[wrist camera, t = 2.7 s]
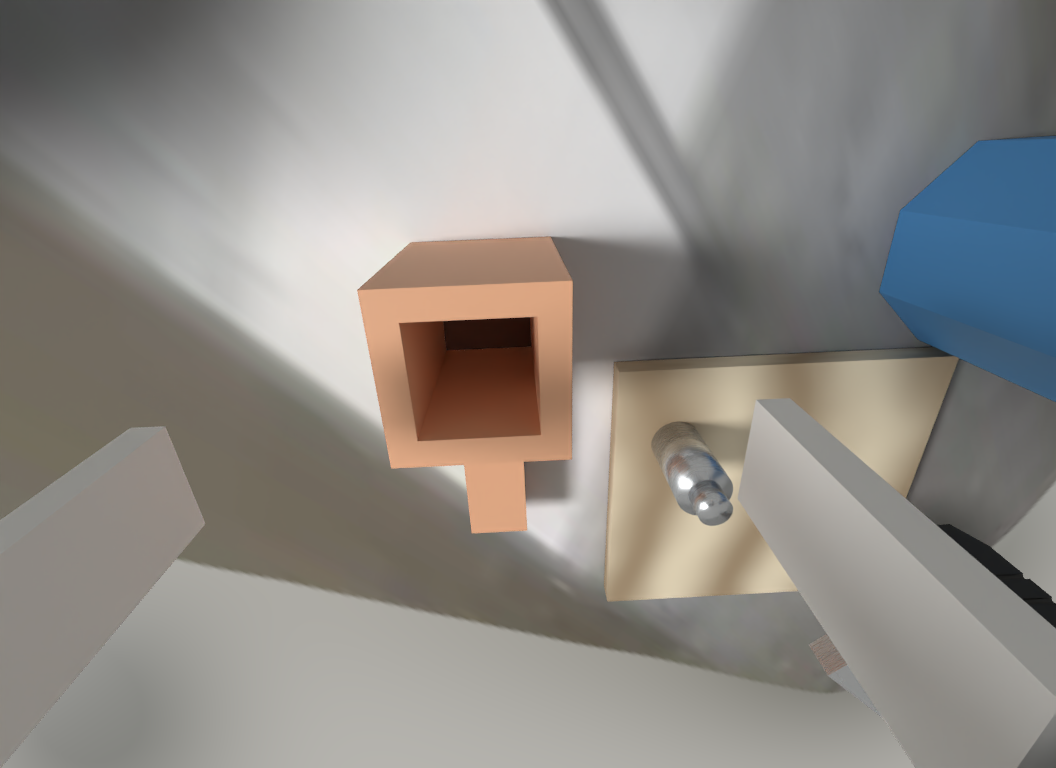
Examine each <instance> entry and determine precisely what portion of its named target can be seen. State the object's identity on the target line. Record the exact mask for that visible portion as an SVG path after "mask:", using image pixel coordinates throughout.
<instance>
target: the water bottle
mask: <svg viewBox="0 0 1056 768" xmlns="http://www.w3.org/2000/svg"><path fill="white" fill-rule="evenodd" d="M879 292H880V294H881V295H882V296H883V297H884V298H885V300H886V301H887V302H888V303H889V305H890V306H891V307H892V308H893V310H894V311H895V312H896V313H897V315H898V316H899V317H900V318H901V319H902V321H903V322H904V323H905V324H906V326H907V327H908V328H909V329H910V331H911V332H912V333H913V334H914V335H915V337H916V338H917V339H918V340H920V341H922V342H925V343H927V344H929V345H931V346H933V347H936V348H938V349H940V350H942V351H944V352H947V353H949V354H951V355H953V356H955V357H958V358H960V359H962V360H964V361H966V362H969V363H971V364H973V365H975V366H977V367H980V368H982V369H984V370H986V371H988V372H991V373H993V374H995V375H997V376H999V377H1002V378H1004V379H1006V380H1008V381H1010V382H1013V383H1015V384H1017V385H1019V386H1021V387H1024V388H1026V389H1028V390H1030V391H1032V392H1035V393H1037V394H1039V395H1041V396H1043V397H1046V398H1048V399H1050V400H1052V401H1054V402H1056V136H1043V137H1028V138H1014V139H999V140H984V141H978V142H977V143H976V144H975V145H973V146H972V147H971V148H970V149H969V150H968V151H967V152H965V153H964V154H963V155H962V156H961V157H960V158H959V159H958V160H956V161H955V162H954V163H953V164H952V165H951V166H950V167H949V168H947V169H946V170H945V171H944V172H943V173H942V174H941V175H940V176H938V177H937V178H936V179H935V180H934V181H933V182H932V183H931V184H929V185H928V186H927V187H926V188H925V189H924V190H923V191H922V192H920V193H919V194H918V195H917V196H916V197H915V198H914V199H913V200H911V201H910V202H909V203H908V204H907V205H906V206H905V207H904V208H902V209H901V210H900V213H899V217H898V221H897V225H896V229H895V233H894V237H893V240H892V244H891V248H890V252H889V256H888V260H887V264H886V267H885V271H884V275H883V279H882V283H881V287H880V291H879Z"/></svg>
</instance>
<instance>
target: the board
mask: <svg viewBox="0 0 1056 768" xmlns="http://www.w3.org/2000/svg"><path fill="white" fill-rule="evenodd" d="M958 360H959V358H958V357H955V356H953V355H951V354H949V353H947V352H944V351H942V350H940V349H938V348H936V347H925V348H904V349H882V350H861V351H839V352H818V353H797V354H775V355H754V356H732V357H711V358H689V359H668V360H647V361H625V362H614V376H613V398H612V420H611V442H610V464H609V486H608V508H607V530H606V552H605V574H604V587H605V592H606V597H607V601H626V600H644V599H662V598H680V597H698V596H717V595H735V594H753V593H771V592H789V591H798V589H797V588H796V586H795V585H794V583H793V582H792V580H791V579H790V577H789V576H788V574H787V573H786V571H785V570H784V568H783V567H782V565H781V564H780V562H779V561H778V559H777V558H776V556H775V555H774V553H773V552H772V550H771V549H770V547H769V545H768V544H767V542H766V541H765V539H764V538H763V536H762V535H761V533H760V532H759V530H758V529H757V527H756V526H755V524H754V523H753V521H752V520H751V518H750V517H749V515H748V514H747V512H746V511H745V509H744V508H743V506H742V505H741V503H740V502H739V500H738V499H737V498H738V493H739V487H740V482H741V477H742V471H743V466H744V461H745V455H746V450H747V445H748V439H749V434H750V429H751V423H752V418H753V413H754V407H755V402H756V400H760V399H782V398H790V399H791V400H793V401H794V402H795V403H796V404H797V405H798V406H799V407H801V408H802V409H803V410H804V411H805V412H806V413H808V414H809V415H810V416H811V417H812V418H813V419H814V420H816V421H817V422H818V423H819V424H820V425H821V426H823V427H824V428H825V429H826V430H827V431H828V432H829V433H831V434H832V435H833V436H834V437H835V438H836V439H838V440H839V441H840V442H841V443H842V444H843V445H844V446H846V447H847V448H848V449H849V450H850V451H851V452H853V453H854V454H855V455H856V456H857V457H858V458H860V459H861V460H862V461H863V462H864V463H865V464H866V465H868V466H869V467H870V468H871V469H872V470H873V471H875V472H876V473H877V474H878V475H879V476H880V477H881V478H883V479H884V480H885V481H886V482H887V483H888V484H890V485H891V486H892V487H893V488H894V489H895V490H896V491H898V492H899V493H900V494H901V495H902V496H903V497H905V498H906V497H907V494H908V491H909V489H910V486H911V484H912V481H913V478H914V476H915V473H916V470H917V468H918V465H919V462H920V460H921V457H922V455H923V452H924V449H925V447H926V444H927V441H928V439H929V436H930V433H931V431H932V428H933V426H934V423H935V420H936V418H937V415H938V412H939V410H940V407H941V404H942V402H943V399H944V397H945V394H946V391H947V389H948V386H949V383H950V381H951V378H952V375H953V373H954V370H955V368H956V365H957V362H958ZM672 422H686V423H689V424H691V425H692V426H694V427H695V428H696V430H697V431H698V433H699V434H700V435H701V437H702V438H703V440H704V441H705V443H706V444H707V446H708V447H709V449H710V450H711V452H712V453H713V455H714V456H715V457H716V459H717V460H718V462H719V463H720V465H721V466H722V468H723V469H724V471H725V472H726V474H727V475H728V477H729V478H730V480H731V481H732V484H733V493H732V496H731V498H730V500H729V501H730V502H731V504H732V506H733V513H732V515H731V517H730V518H729V519H728V520H727V521H726V522H724V523H722V524H720V525H716V526H709V525H705V524H703V523H702V522H701V521H700V519H699V518H698V516H697V515H692V514H689V513H686V512H685V511H683V510H682V509H681V508H680V506H679V505H678V503H677V501H676V499H675V497H674V495H673V492H672V490H671V488H670V486H669V484H668V482H667V480H666V478H665V476H664V474H663V472H662V470H661V468H660V466H659V463H658V461H657V459H656V457H655V455H654V453H653V451H652V447H651V443H652V439H653V437H654V435H655V433H656V432H657V431H658V430H659V429H660V428H661V427H663V426H664V425H666V424H669V423H672Z"/></svg>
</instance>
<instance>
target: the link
mask: <svg viewBox="0 0 1056 768" xmlns="http://www.w3.org/2000/svg"><path fill="white" fill-rule="evenodd" d="M357 291H358V296H359V302H360V307H361V312H362V317H363V323H364V328H365V333H366V338H367V344H368V349H369V354H370V359H371V364H372V370H373V375H374V380H375V385H376V391H377V396H378V401H379V406H380V412H381V417H382V422H383V427H384V433H385V438H386V443H387V448H388V453H389V459H390V464H391V468H410V467H430V466H450V465H464V467H465V476H466V485H467V494H468V503H469V512H470V521H471V530H472V533H488V532H507V531H526V530H527V519H526V498H525V476H524V462H530V461H550V460H570V459H572V303H573V280H572V278H571V277H570V275H569V273H568V271H567V269H566V267H565V265H564V263H563V261H562V259H561V257H560V255H559V253H558V251H557V249H556V247H555V245H554V243H553V241H552V239H551V237H530V238H506V239H483V240H459V241H435V242H412V243H409V244H408V245H407V246H406V247H405V248H404V249H403V250H402V251H400V252H399V253H398V254H397V255H396V256H395V257H394V258H393V259H392V260H390V261H389V262H388V263H387V264H386V265H385V266H384V267H383V268H381V269H380V270H379V271H378V272H377V273H376V274H375V275H374V276H373V277H371V278H370V279H369V280H368V281H367V282H366V283H365V284H364V285H362V286H361V287H360V288H359V289H358V290H357ZM519 317H530V332H531V347H509V348H487V349H465V350H446V341H445V333H444V324H443V321H452V320H474V319H497V318H519Z"/></svg>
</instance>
